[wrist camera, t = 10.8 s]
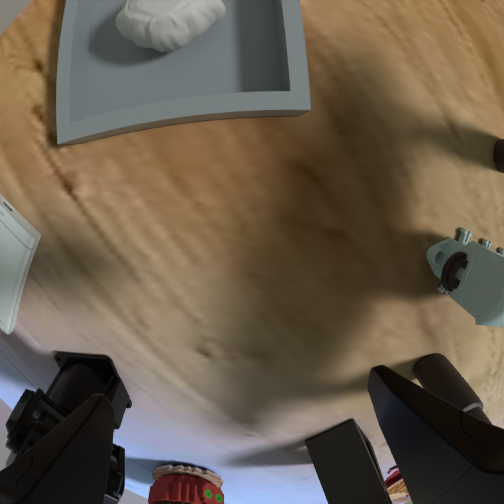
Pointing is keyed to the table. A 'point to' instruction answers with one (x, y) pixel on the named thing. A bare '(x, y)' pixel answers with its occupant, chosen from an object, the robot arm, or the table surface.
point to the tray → (178, 71)
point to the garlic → (167, 21)
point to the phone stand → (348, 466)
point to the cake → (185, 486)
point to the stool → (465, 305)
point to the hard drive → (14, 261)
